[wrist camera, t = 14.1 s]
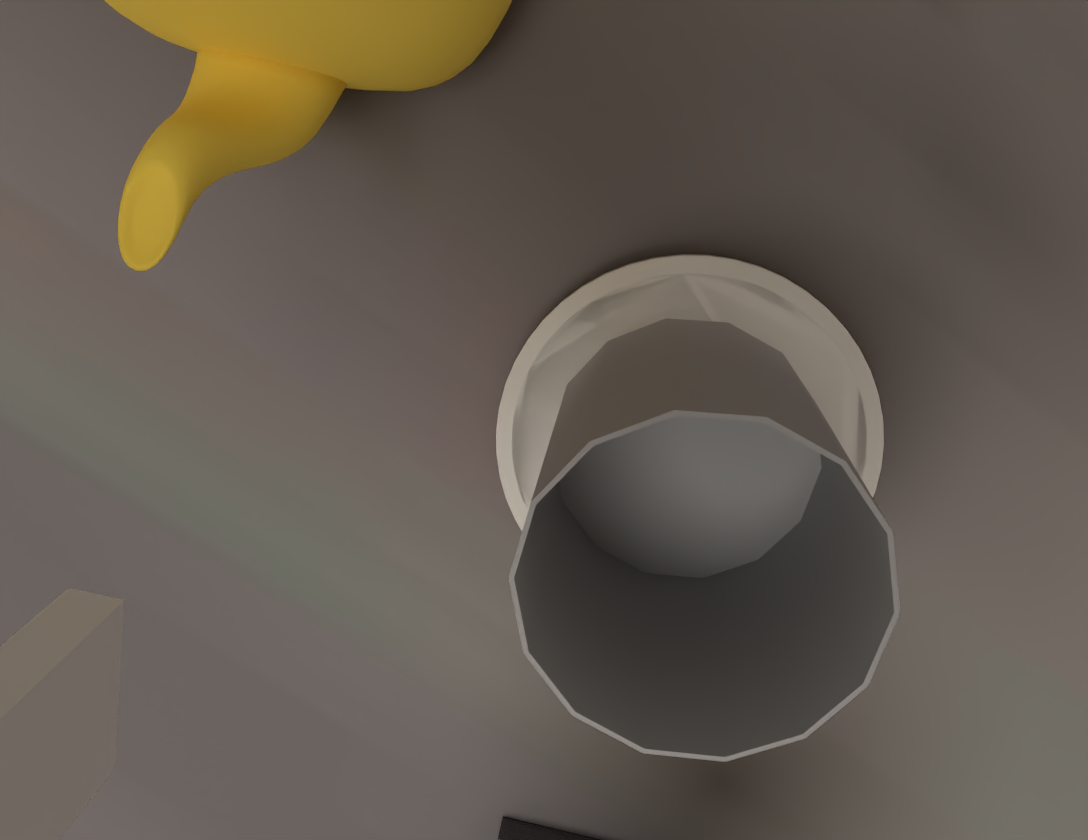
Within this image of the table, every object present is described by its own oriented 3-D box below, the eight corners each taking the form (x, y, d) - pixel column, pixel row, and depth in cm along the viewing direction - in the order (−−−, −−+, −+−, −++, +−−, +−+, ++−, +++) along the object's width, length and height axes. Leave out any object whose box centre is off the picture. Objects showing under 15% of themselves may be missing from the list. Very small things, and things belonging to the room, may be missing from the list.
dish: (540, 213, 31) (536, 217, 29) (925, 297, 30) (936, 304, 29) (472, 560, 34) (465, 575, 33) (815, 639, 34) (820, 657, 33)
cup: (875, 405, 30) (982, 537, 21) (731, 615, 33) (765, 819, 23) (633, 268, 30) (627, 338, 20) (505, 491, 32) (445, 647, 23)
